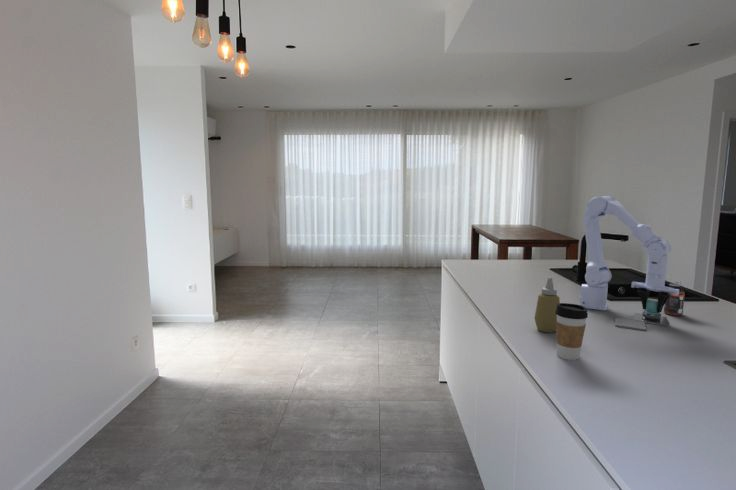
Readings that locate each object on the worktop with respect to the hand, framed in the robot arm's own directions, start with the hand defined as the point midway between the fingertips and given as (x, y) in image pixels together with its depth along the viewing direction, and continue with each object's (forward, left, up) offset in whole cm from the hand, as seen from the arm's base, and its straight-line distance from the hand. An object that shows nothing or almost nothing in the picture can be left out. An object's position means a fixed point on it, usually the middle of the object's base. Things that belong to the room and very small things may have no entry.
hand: (651, 310), depth 155 cm
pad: (-7, -10, -4) cm, 13 cm away
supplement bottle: (+8, +13, -4) cm, 16 cm away
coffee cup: (-24, -50, -4) cm, 56 cm away
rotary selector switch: (0, 0, -4) cm, 4 cm away
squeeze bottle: (-32, -30, -4) cm, 44 cm away
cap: (0, 0, -1) cm, 1 cm away
